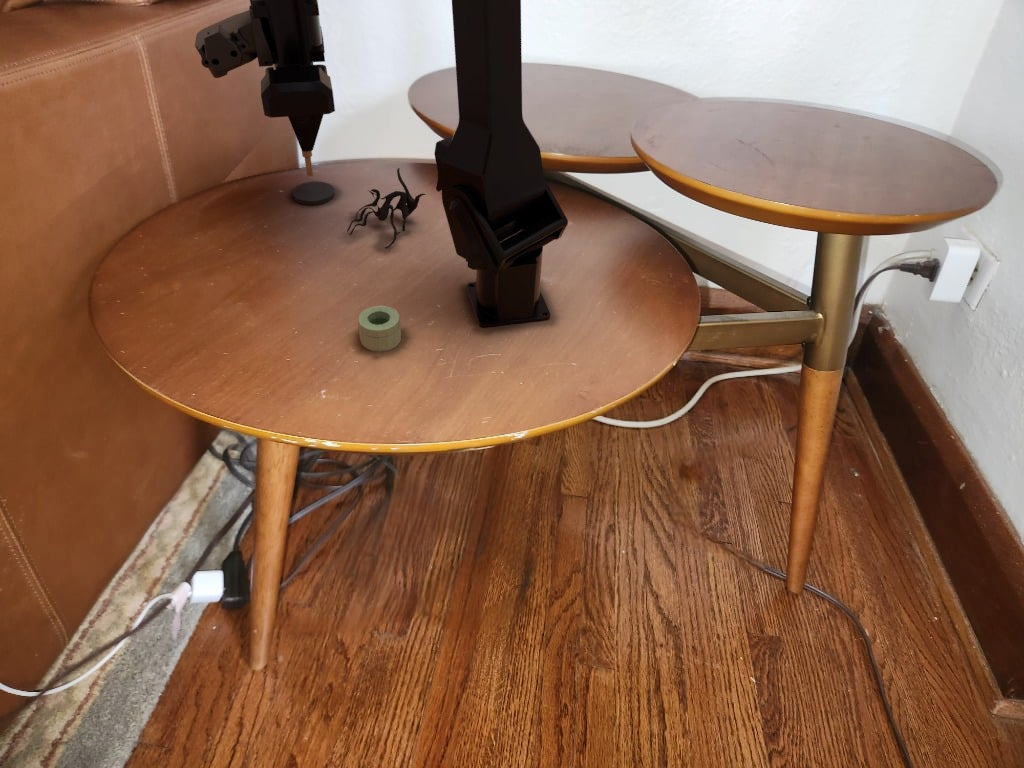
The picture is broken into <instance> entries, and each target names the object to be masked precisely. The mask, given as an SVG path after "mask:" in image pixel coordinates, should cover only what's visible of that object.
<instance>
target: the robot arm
mask: <svg viewBox="0 0 1024 768" xmlns="http://www.w3.org/2000/svg"><path fill="white" fill-rule="evenodd" d="M318 1H319V0H249V3H250V5H249V9H247V10H245V11H243V12H239V13H236V14H233V15H231V16H229V17H226V18H224V19H222V20H219V21H217V22H215V23H212V24H210V25H208V26H206V27H204V28H202V29H201V30H199V31H198V32H197V33H196V35H195V40H194V48H195V50H196V51H197V52H198V54H199V55H200V58H201V61H200V62H201V65H202V67H204V68H206V69H208V70H209V72H210V73H211V75H212V77H213V78H214V79H219V78H222V77H224V76H225V77H226V76H227V75H228V72H230V71H233V70H236V69H237V68H240V67H242V66H245V65H247V64H249V63H251V62H253V61H255V60H256V59H257V62H258V67H259V68H262V67H266V68H265V70H264V74H265V75H264V76H263V77H262V78H261V80H260V97H261V103H262V109H263V115H264V117H268V118H271V119H272V118H287V117H288V120H289V123H290V124H291V127H292V130H293V132H294V135H295V137H296V140H297V142H298V145H299V147H300V150H301V152H302V151H304V152H306V151H312V152H313V151H314V147H315V144H316V142H317V138H318V134H319V131H320V128H321V125H322V121H323V118H324V115H330V114H332V113H334V112H336V107H335V100H334V90H333V85H332V84H333V83H332V80H331V76H330V75H328V70H327V69H328V68H327V66H326V65H325V64H319V63H323V62H324V63H325V62H326V58H325V53H326V52H325V43H324V37H323V36H324V35H323V30H322V26H321V21H320V10H319V2H318ZM451 10H452V11H451V12H452V27H453V28H452V29H453V43H454V58H455V59H454V60H455V73H456V74H455V75H456V91H457V105H458V123H457V126H456V129H455V131H454V133H453V135H450V136H448V137H445V138H442V139H441V140H439V141H436V143H435V148H434V159H435V163H436V169H437V182H436V186H435V190H436V192H440V191H441V202H442V206H443V209H444V212H445V217H446V220H447V221H446V222H447V224H448V227H449V231H450V235H451V238H452V242H453V246H454V249H455V252H456V254H457V256H459V257H460V258H463V259H464V260H465V262H467V268H468V269H470V270H473V271H475V273H476V274H475V281H472V282H468V283H466V292H467V295H468V298H469V301H470V303H471V306H472V309H473V312H474V316H475V318H476V319H475V320H476V321H477V324H478V327H480V328H482V329H488V328H489V329H490V328H496V327H505V326H512V325H520V324H528V323H538V322H546V321H549V320H550V319H551V314H552V313H551V311H550V308H549V307H548V305H547V302H546V301H545V298H544V296H543V294H542V292H541V282H542V281H541V280H542V266H543V253H544V252H543V251H544V246H546V245H548V244H550V243H551V242H553V241H556V240H559V239H561V238H562V237H563V234H564V232H565V230H566V228H567V226H568V224H569V220H568V218H567V215H566V214H565V212H564V211H563V208H562V207H561V206H560V203H559V201H558V200H557V198H556V197H555V195H554V193H553V191H552V189H551V188H550V186H549V184H548V182H547V180H546V179H545V176H544V168H543V162H542V154H541V153H542V151H541V148H540V145H539V143H538V142H537V140H536V138H535V137H534V135H533V134H532V132H531V130H530V128H529V127H528V125H527V124H526V122H525V120H524V116H523V68H522V67H523V66H522V65H523V59H522V55H523V54H522V0H451ZM314 63H318V64H314Z"/></svg>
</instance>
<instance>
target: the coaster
mask: <svg viewBox="0 0 1024 768" xmlns="http://www.w3.org/2000/svg"><path fill="white" fill-rule="evenodd" d="M335 195H336V194H335V188H334V187H333V185H331V184H330V183H327V182H325V181H317V180H315V181H307V182H304V183H301V184H298V185H296V186H295V187H294V188H293V190H292V199H294V201H295V202H296V203H299V204H302V205H306V206H317V205H318V206H319V205H322V204H326V203H328V202H330V201H331V200H333V198H334V197H335Z"/></svg>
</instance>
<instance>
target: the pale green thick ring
mask: <svg viewBox="0 0 1024 768" xmlns="http://www.w3.org/2000/svg"><path fill="white" fill-rule="evenodd" d="M357 326H358V334H359V342H360V344H361V346H362V347H364V349H366V350H369V351H373V352H387V351H390V350H392V349H394V348H396V347H397V346H398V345H399V344H400V342H401V340H402V330H401V329H402V328H401V316H400V313H398V311H397V310H396V309H395V308H393V307H391V306H388V305H382V304H381V305H373V306H370V307H367V308H365V309H363V310H362V311H361V312H360V313H359V314H358V318H357Z"/></svg>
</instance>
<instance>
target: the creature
mask: <svg viewBox="0 0 1024 768" xmlns="http://www.w3.org/2000/svg"><path fill="white" fill-rule="evenodd" d="M396 174H397V175H396V176H397V179H398V181H399V183H400V184H401V186H402V187H403V190H404V191H401V190H400V191H399V190H395V191H392V192H390V193H388V194H386V195H385V196H384V197H381V193H380V191H379V189H375V188H372V189H370V190H369V189H367V191H368V192H369V194H371V195H372V197H373V199H374V201H372V202H371V203H368V204H366V205H363V206H362V207H361V208H359V209H358V211H357V212H356V213H355V216H354V219H353V220H351V222H350V223H349V225H348V227H347V230H346V232H349V231H350V229H351V227H352V224H353V223H354V222H358V223H356V224H354V226H353V228H352V230H351V231H350V233H349V236H351V235H352V234H353V233H354V230H355V229H356V227H358V226H359V227H366V226H367V221H368V218H369V215H371V214H374V216H375V217H376V218H377V219H378V220H379V221H381V222H384V221H386V220H387V219H388V216H389V219H390V225H391V226H392V230H393V239H392V241H391V242H390V244H389V245H386V246H385V247H384V249H388V248H390V247H391V246H393V244H394V243H395V242H396V240H397V235H398V234H400V233H401V232H406V220H407V218H408V217H409V216H410V215H411V214H412V213H413V212H414V211H415V210H416V209H417V208H418V206H419V201H420V198H421V197H422V196H426V195H427V194H426V193H419V194H418V195H416V196H415V197H414V198H413V196H412V195H411V193H410V191H409V188H408V187H407V184H406V183H405V182H404V180H403V178H402V176H401V171H400V168H399V167H398V168H397V169H396ZM374 195H375V196H376V198H375V196H374ZM397 197H399V199H398V202H397V203H396V205H395V207H394V205H393V204H391V203H392V201H393V200H394V199H395V198H397ZM380 200H383V203H382V205H381V207H379V204H378V203H379V201H380ZM372 207H374V208H375V207H376V208H377V210H375V209H373V208H372ZM368 209H370V211H368V212H367V213H366V211H367V210H368ZM396 210H399V211H400V212H401V218H402V219H403V222H402V223H401V224H402V225H401V231H398V229H397V227H396V225H395V223H394V217H395V216H394V215H395V211H396ZM359 212H361V213H360V216H359V218H357V216H358V214H359ZM389 214H390V215H389ZM362 221H363V222H362ZM359 222H360V223H359Z"/></svg>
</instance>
